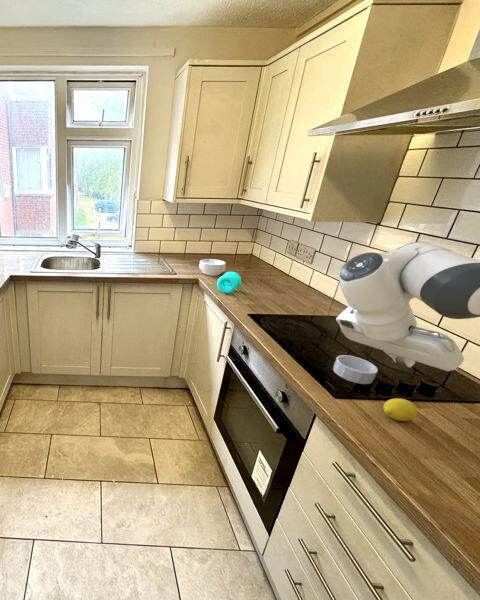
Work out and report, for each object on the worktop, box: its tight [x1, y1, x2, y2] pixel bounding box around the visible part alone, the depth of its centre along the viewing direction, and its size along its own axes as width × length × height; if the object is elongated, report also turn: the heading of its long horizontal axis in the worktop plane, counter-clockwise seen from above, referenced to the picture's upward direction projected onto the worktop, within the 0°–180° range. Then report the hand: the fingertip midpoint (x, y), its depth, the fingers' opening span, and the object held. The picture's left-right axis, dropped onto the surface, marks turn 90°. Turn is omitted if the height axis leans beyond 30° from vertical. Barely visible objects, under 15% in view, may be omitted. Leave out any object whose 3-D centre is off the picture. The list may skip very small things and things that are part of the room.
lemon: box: [382, 397, 419, 422], centre depth 82 cm, size 6×6×8 cm
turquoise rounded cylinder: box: [216, 271, 242, 294], centre depth 168 cm, size 10×10×10 cm
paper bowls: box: [198, 258, 227, 277], centre depth 197 cm, size 15×15×8 cm
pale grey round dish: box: [332, 354, 379, 385], centre depth 100 cm, size 10×10×4 cm
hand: (404, 363), depth 71 cm, fingers closed
